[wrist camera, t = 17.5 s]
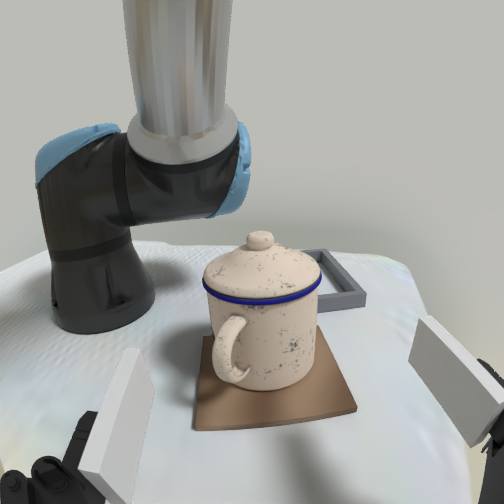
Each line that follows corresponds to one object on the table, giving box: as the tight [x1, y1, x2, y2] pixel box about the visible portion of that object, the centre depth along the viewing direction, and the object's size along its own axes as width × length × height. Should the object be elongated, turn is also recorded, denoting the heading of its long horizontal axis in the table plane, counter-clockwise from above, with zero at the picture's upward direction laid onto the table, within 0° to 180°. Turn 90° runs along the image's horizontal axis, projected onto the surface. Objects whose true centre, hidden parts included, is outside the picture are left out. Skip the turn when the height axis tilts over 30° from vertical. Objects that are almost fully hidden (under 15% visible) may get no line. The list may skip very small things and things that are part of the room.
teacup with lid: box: [202, 231, 322, 391], centre depth 23 cm, size 12×9×12 cm
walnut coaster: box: [195, 325, 357, 431], centre depth 25 cm, size 12×12×1 cm
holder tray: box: [300, 249, 367, 313], centre depth 42 cm, size 14×17×2 cm
